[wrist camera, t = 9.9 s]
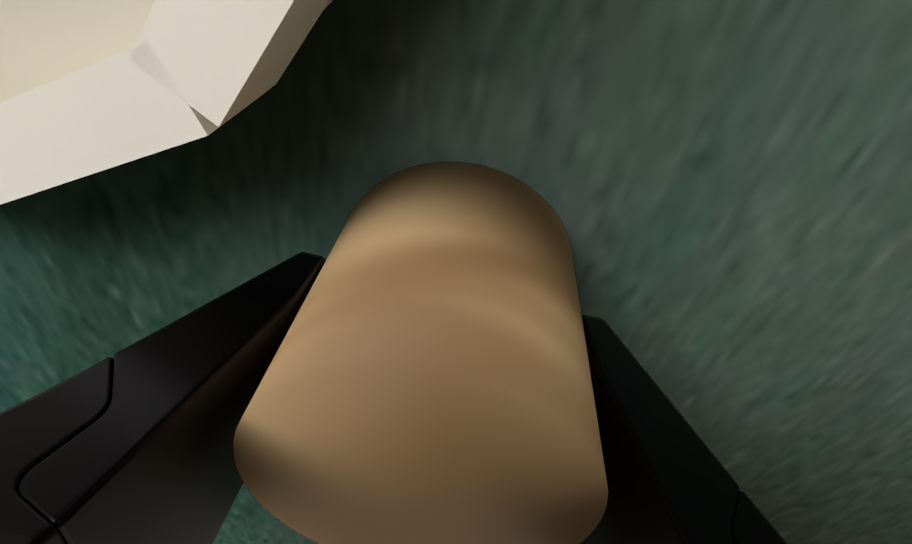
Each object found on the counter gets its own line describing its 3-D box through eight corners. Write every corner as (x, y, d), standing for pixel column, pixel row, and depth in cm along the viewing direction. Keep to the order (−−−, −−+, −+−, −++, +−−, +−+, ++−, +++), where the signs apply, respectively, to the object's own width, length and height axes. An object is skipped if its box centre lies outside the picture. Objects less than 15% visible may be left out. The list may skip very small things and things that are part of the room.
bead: (610, 195, 8) (680, 420, 5) (533, 368, 11) (539, 597, 7) (349, 134, 8) (215, 321, 4) (336, 325, 11) (245, 538, 7)
